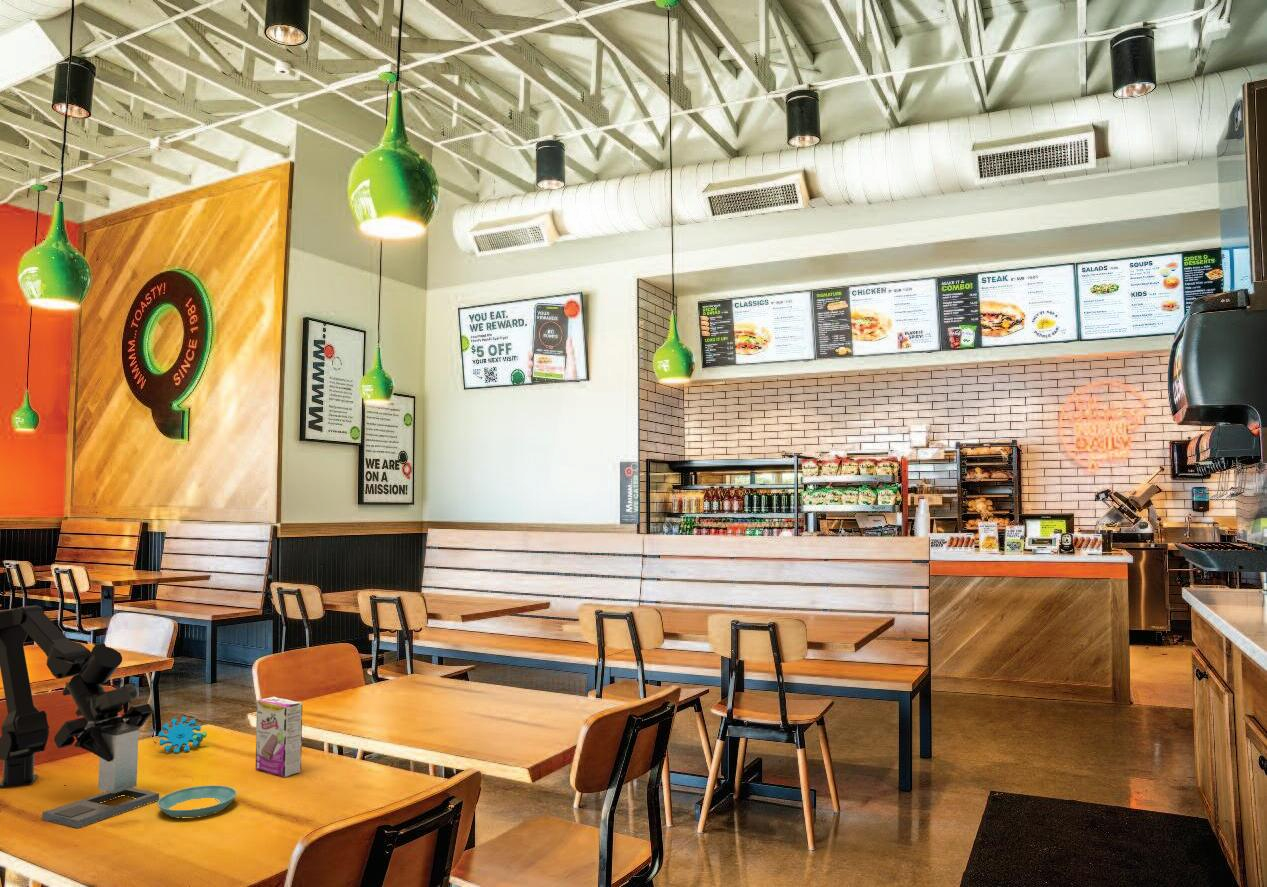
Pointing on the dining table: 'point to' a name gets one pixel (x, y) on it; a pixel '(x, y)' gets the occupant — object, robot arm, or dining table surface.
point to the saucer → (217, 792)
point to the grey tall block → (119, 758)
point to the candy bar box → (279, 736)
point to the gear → (181, 735)
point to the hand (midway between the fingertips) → (122, 756)
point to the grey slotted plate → (97, 808)
